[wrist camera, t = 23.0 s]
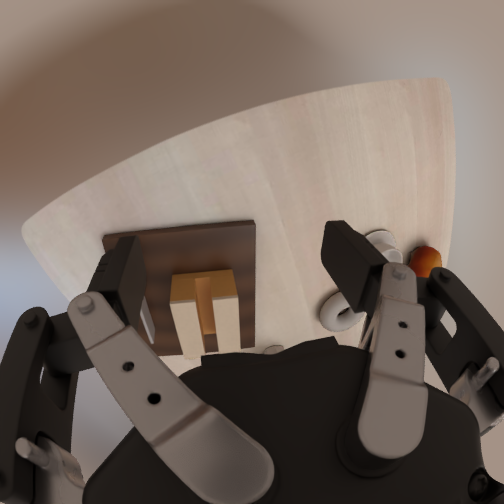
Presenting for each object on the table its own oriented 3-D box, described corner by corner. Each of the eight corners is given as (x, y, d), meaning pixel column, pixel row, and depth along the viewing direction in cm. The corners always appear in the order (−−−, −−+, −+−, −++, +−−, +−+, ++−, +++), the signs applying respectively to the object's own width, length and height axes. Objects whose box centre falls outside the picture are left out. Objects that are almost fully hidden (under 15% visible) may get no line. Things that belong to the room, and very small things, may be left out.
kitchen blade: (121, 244, 36) (114, 259, 32) (136, 242, 36) (131, 258, 33) (147, 329, 44) (145, 346, 41) (160, 328, 45) (159, 345, 41)
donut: (320, 290, 49) (314, 328, 54) (327, 302, 46) (320, 340, 51) (366, 281, 50) (356, 318, 55) (374, 292, 47) (363, 329, 52)
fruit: (404, 248, 46) (441, 265, 41) (416, 234, 50) (449, 248, 45) (395, 282, 50) (428, 299, 45) (408, 266, 54) (438, 280, 49)
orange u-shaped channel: (172, 274, 40) (169, 304, 34) (232, 269, 41) (238, 297, 36) (184, 330, 46) (184, 359, 40) (235, 324, 47) (240, 353, 42)
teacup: (349, 237, 44) (363, 252, 40) (396, 223, 44) (411, 235, 40) (349, 282, 49) (360, 298, 45) (392, 267, 50) (404, 281, 46)
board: (104, 234, 36) (101, 239, 35) (253, 219, 39) (255, 224, 38) (144, 351, 49) (143, 356, 48) (253, 341, 53) (254, 347, 51)
